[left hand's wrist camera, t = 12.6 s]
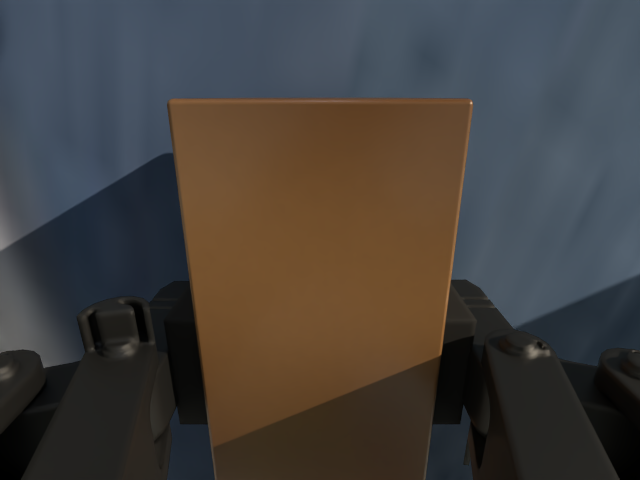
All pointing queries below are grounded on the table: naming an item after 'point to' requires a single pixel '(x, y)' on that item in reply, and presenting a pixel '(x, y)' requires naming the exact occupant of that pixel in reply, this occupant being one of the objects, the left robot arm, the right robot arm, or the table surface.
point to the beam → (320, 277)
